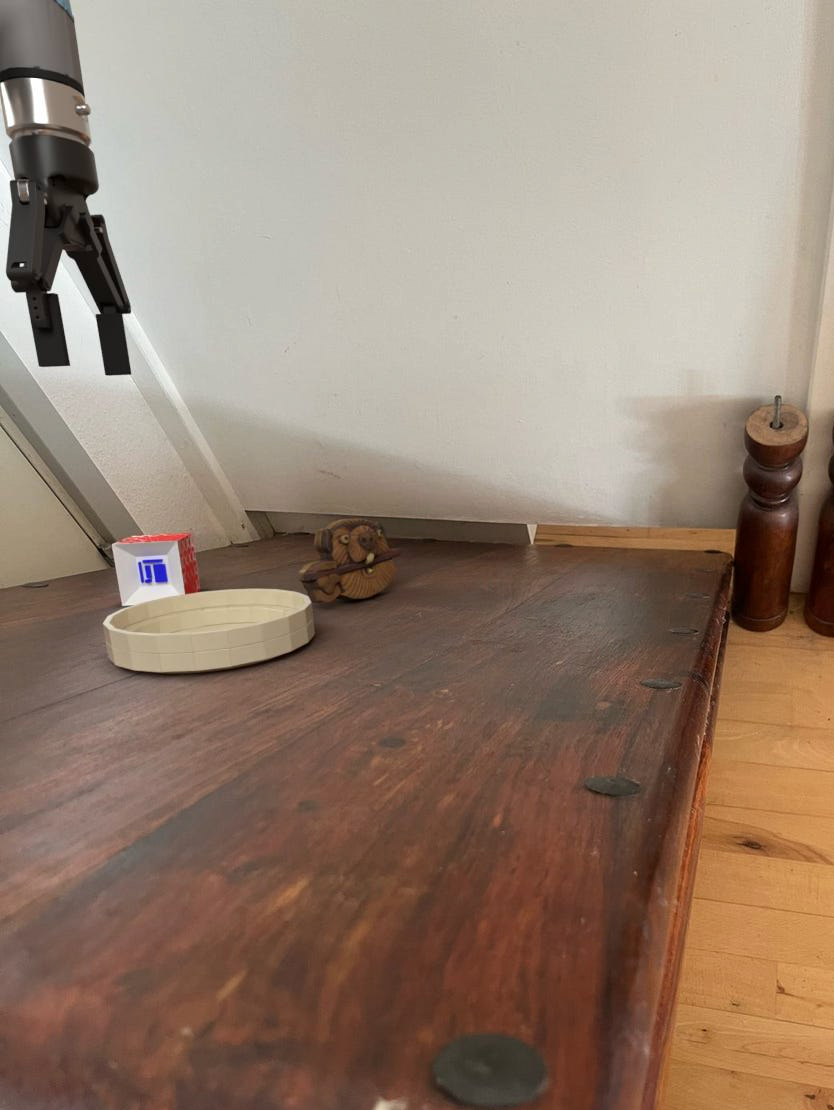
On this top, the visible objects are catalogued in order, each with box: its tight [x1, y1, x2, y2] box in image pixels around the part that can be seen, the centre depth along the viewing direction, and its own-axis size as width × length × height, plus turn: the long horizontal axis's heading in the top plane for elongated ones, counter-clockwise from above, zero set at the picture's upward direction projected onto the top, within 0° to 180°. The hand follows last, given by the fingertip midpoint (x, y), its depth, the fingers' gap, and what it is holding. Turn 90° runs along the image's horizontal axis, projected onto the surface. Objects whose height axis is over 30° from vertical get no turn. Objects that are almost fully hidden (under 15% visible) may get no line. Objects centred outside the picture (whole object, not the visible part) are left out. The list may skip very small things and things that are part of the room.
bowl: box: [102, 588, 316, 675], centre depth 76 cm, size 19×19×4 cm
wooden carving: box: [297, 518, 403, 604], centre depth 94 cm, size 16×5×10 cm, turn 150°
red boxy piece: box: [111, 532, 201, 607], centre depth 101 cm, size 8×8×8 cm
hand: (89, 371), depth 82 cm, fingers open, 13 cm apart
